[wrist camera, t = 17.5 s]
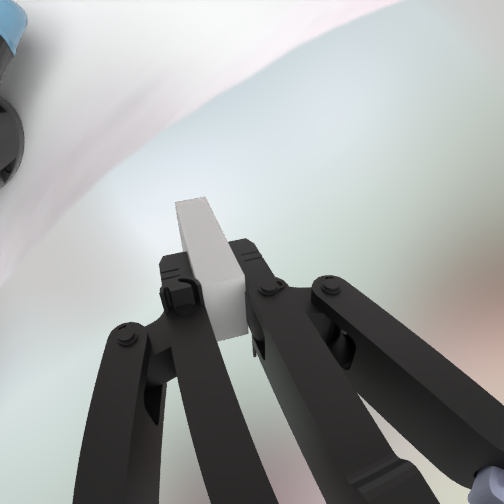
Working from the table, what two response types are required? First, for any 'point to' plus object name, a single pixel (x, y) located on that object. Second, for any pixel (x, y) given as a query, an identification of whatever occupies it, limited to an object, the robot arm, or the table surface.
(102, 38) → the table surface
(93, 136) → the table surface
